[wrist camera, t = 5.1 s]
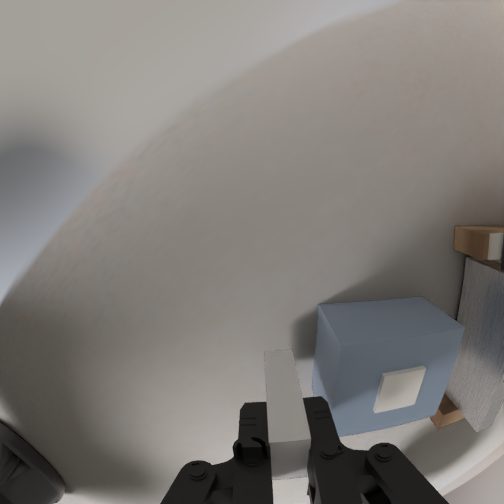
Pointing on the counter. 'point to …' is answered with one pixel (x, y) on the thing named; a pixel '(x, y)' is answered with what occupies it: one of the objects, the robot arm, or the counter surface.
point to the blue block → (383, 361)
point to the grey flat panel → (480, 344)
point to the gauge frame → (484, 248)
